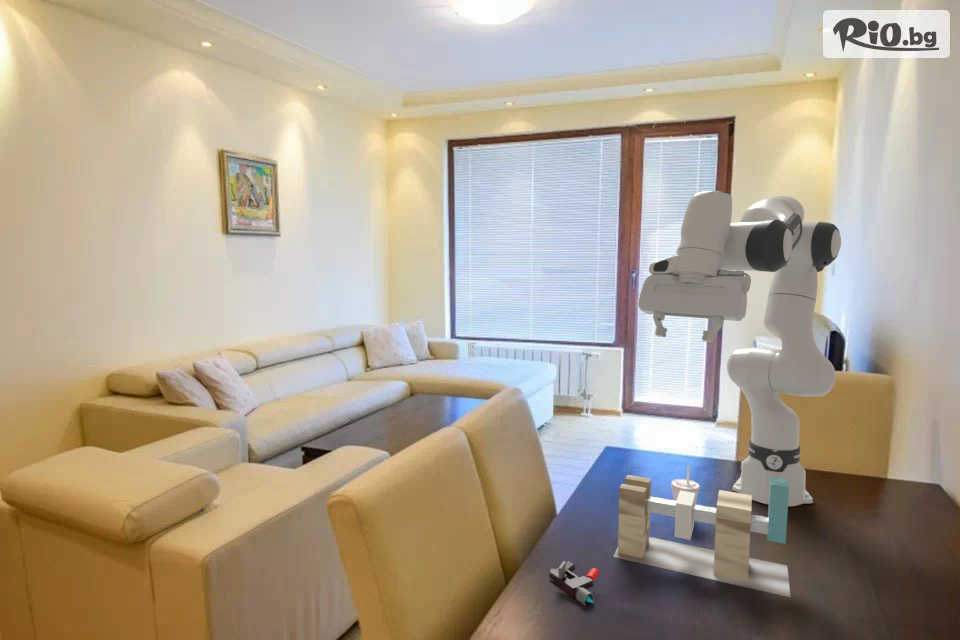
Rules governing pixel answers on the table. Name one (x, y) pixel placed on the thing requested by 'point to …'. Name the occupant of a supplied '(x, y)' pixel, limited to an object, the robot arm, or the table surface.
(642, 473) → the table surface
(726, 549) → the stand
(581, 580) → the toy gun
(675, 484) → the smoothie
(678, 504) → the collar
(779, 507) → the shaft
